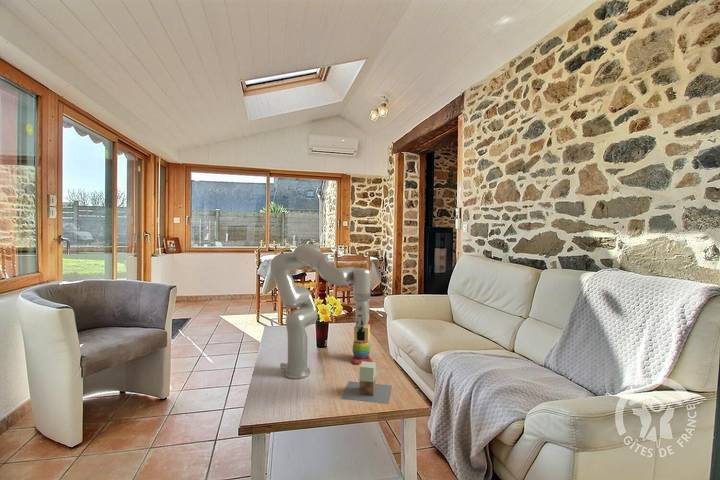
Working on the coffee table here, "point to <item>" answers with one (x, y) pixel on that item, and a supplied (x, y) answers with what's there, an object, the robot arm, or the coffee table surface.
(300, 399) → the coffee table surface
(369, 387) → the walnut base block
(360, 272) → the robot arm
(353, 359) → the stacking bear
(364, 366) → the sage-green block
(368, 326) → the ochre block
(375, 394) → the slate base board
